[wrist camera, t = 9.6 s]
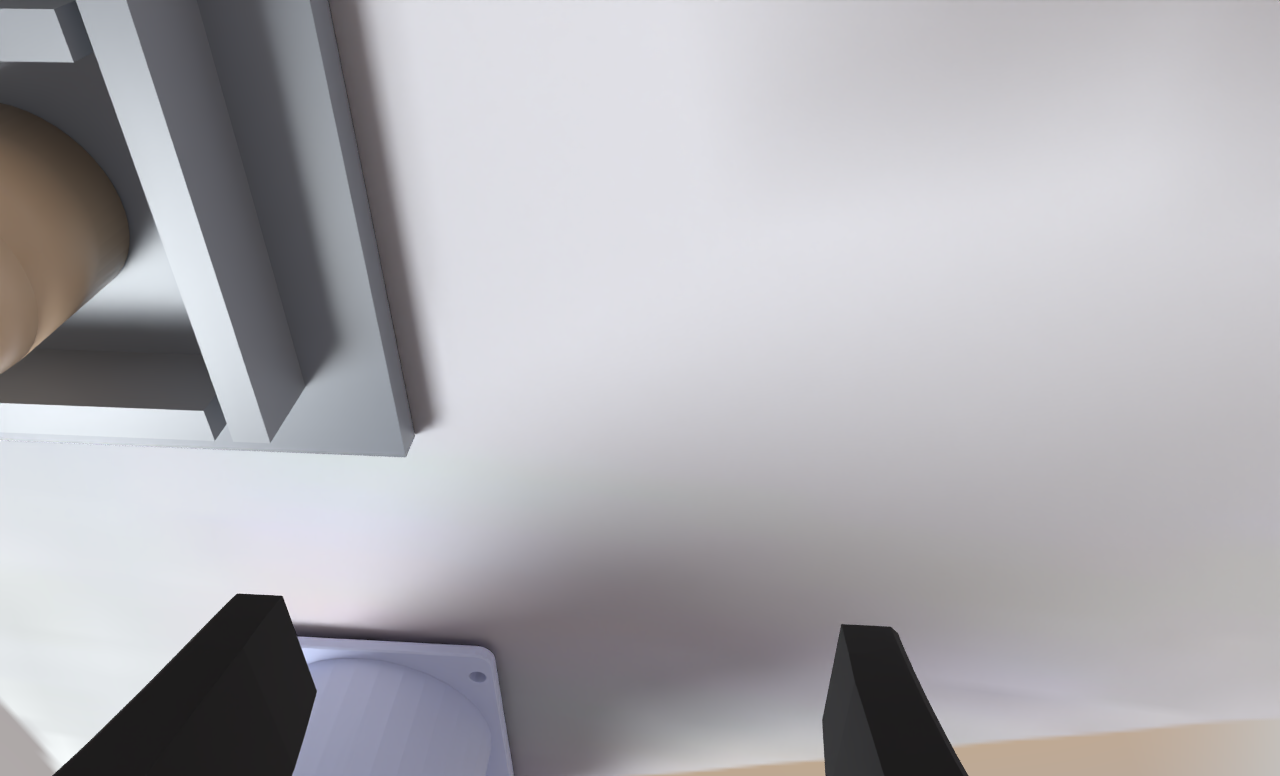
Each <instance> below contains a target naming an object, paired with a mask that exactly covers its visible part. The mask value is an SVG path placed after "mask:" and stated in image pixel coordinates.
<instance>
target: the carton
mask: <svg viewBox="0 0 1280 776" xmlns="http://www.w3.org/2000/svg"><path fill="white" fill-rule="evenodd" d="M0 103H2V104H7V105H11V106H14V107H17V108H19V109H22V110H25V111H27V112H30V113H32V114H34V115H36V116H38V117H40V118H42V119H44V120H45V121H47V122H49V123H50V124H52V125H54V126H56V127H57V128H58V129H60V130H61V131H63V132H64V133H65V134H67V135H68V136H70V137H71V138H72V139H73V140H74V141H75V142H77V143H78V144H79V145H80V146H81V147H82V148H83V149H84V150H85V151H86V152H87V153H88V154H89V155H90V156H91V157H92V158H93V159H94V160H95V161H96V162H97V164H98V165H99V166H100V167H101V169H102V170H103V171H104V172H105V174H106V175H107V177H108V178H109V180H110V181H111V183H112V184H113V186H114V188H115V190H116V192H117V194H118V195H119V197H120V200H121V202H122V205H123V207H124V210H125V213H126V217H127V221H128V226H129V234H130V241H129V251H128V256H127V259H126V261H125V264H124V266H123V268H122V269H121V271H120V272H119V274H118V275H117V276H116V277H115V278H114V279H113V280H112V281H111V282H110V283H109V284H108V285H107V286H105V287H104V288H103V289H102V290H101V291H100V292H99V293H97V294H96V295H95V296H94V297H93V298H92V299H91V300H89V301H88V302H87V303H86V304H85V305H84V306H82V307H81V308H80V309H79V310H78V311H77V312H76V313H74V314H73V315H72V316H71V317H70V318H69V319H67V320H66V321H65V322H64V323H63V324H62V325H61V326H59V327H58V328H57V329H56V330H55V331H54V332H53V333H51V334H50V335H49V336H48V337H47V338H46V339H44V340H43V341H42V342H41V343H40V344H39V345H38V346H36V347H35V348H34V349H33V350H32V351H31V352H30V353H28V354H27V355H26V356H25V357H24V358H23V359H21V360H20V361H19V362H17V363H16V364H15V365H13V366H12V367H11V368H9V369H8V370H6V371H5V372H3V373H2V374H0V440H1V441H25V442H49V443H74V444H98V445H122V446H146V447H170V448H195V449H219V450H243V451H267V452H292V453H316V454H340V455H364V456H388V457H406V456H407V453H408V451H409V449H410V446H411V444H412V442H413V439H414V437H415V434H414V429H413V424H412V419H411V414H410V409H409V404H408V399H407V394H406V389H405V384H404V379H403V374H402V369H401V364H400V359H399V354H398V349H397V344H396V339H395V334H394V329H393V324H392V319H391V314H390V309H389V304H388V299H387V294H386V289H385V284H384V278H383V273H382V268H381V263H380V258H379V253H378V248H377V243H376V238H375V233H374V228H373V223H372V218H371V213H370V208H369V203H368V198H367V193H366V188H365V183H364V178H363V173H362V168H361V163H360V158H359V153H358V148H357V143H356V138H355V133H354V128H353V123H352V118H351V113H350V108H349V103H348V98H347V93H346V88H345V83H344V78H343V73H342V68H341V63H340V58H339V53H338V48H337V43H336V38H335V33H334V28H333V23H332V18H331V13H330V8H329V3H328V0H0Z"/></svg>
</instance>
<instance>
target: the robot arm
mask: <svg viewBox="0 0 1280 776" xmlns="http://www.w3.org/2000/svg"><path fill="white" fill-rule="evenodd" d="M822 723H823V740H824V758H825V773H826V776H968V774H967V773H966V771H965V769H964V767H963V765H962V764H961V762H960V760H959V758H958V757H957V755H956V753H955V751H954V749H953V747H952V745H951V744H950V742H949V740H948V738H947V736H946V734H945V732H944V730H943V728H942V727H941V725H940V723H939V721H938V719H937V717H936V715H935V713H934V711H933V709H932V707H931V705H930V703H929V701H928V699H927V697H926V695H925V693H924V691H923V689H922V687H921V685H920V682H919V680H918V678H917V676H916V674H915V672H914V670H913V667H912V665H911V663H910V661H909V659H908V656H907V654H906V652H905V649H904V647H903V645H902V642H901V640H900V638H899V635H898V633H897V632H896V631H895V630H894V629H892V628H891V627H884V626H864V625H845V624H841V629H840V634H839V639H838V644H837V649H836V654H835V659H834V664H833V669H832V674H831V679H830V684H829V689H828V694H827V699H826V704H825V709H824V714H823V719H822ZM52 776H514V773H513V766H512V760H511V754H510V748H509V742H508V735H507V729H506V723H505V717H504V711H503V704H502V698H501V692H500V686H499V680H498V674H497V667H496V661H495V657H494V655H493V653H492V652H491V651H489V650H488V649H486V648H484V647H480V646H468V645H449V644H431V643H412V642H393V641H375V640H356V639H337V638H318V637H300V636H297V635H296V632H295V629H294V626H293V624H292V621H291V618H290V615H289V613H288V610H287V607H286V604H285V602H284V599H283V596H274V595H254V594H236V595H235V596H234V597H233V598H232V599H231V600H230V601H229V602H228V603H227V604H226V605H225V606H224V607H223V608H222V609H221V610H220V611H219V612H218V613H217V614H216V615H215V616H214V617H213V618H212V619H211V620H210V621H209V622H208V623H207V624H206V625H205V626H204V627H203V628H202V629H201V630H200V631H199V632H198V633H197V634H196V635H195V636H194V637H193V638H192V639H191V640H190V641H189V642H188V643H187V644H186V646H185V647H184V648H183V649H182V650H181V651H180V652H179V653H178V654H177V655H176V656H175V657H174V658H173V659H172V660H171V661H170V662H169V663H168V664H167V665H166V666H165V667H164V668H163V669H162V670H161V671H160V672H159V673H158V674H157V675H156V676H155V677H154V678H153V679H152V680H151V681H150V682H149V683H148V684H147V685H146V686H145V687H144V688H143V689H142V690H141V691H140V692H139V693H138V694H137V695H136V696H135V697H134V698H133V699H132V700H131V701H130V702H129V703H128V704H127V705H126V706H125V707H124V708H123V709H122V710H121V711H120V712H119V713H118V714H117V715H116V716H115V717H114V718H113V719H112V720H111V721H110V722H109V723H108V724H107V725H106V726H105V727H104V728H102V729H101V730H100V731H99V732H98V733H97V734H96V735H95V736H94V737H93V738H92V739H91V740H90V741H89V742H88V743H87V744H86V745H85V746H84V747H83V748H82V749H81V750H80V751H79V752H78V753H77V754H75V755H74V756H73V757H72V758H71V759H70V760H69V761H68V762H67V763H66V764H64V765H63V766H62V767H61V768H60V769H59V770H58V771H57V772H56V773H55V774H54V775H52Z"/></svg>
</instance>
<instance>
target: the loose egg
mask: <svg viewBox="0 0 1280 776" xmlns="http://www.w3.org/2000/svg"><path fill="white" fill-rule="evenodd" d="M129 241H130V234H129V226H128V221H127V217H126V213H125V210H124V207H123V205H122V202H121V200H120V197H119V195H118V194H117V192H116V190H115V188H114V186H113V184H112V183H111V181H110V180H109V178H108V177H107V175H106V174H105V172H104V171H103V170H102V169H101V167H100V166H99V165H98V164H97V162H96V161H95V160H94V159H93V158H92V157H91V156H90V155H89V154H88V153H87V152H86V151H85V150H84V149H83V148H82V147H81V146H80V145H79V144H78V143H77V142H75V141H74V140H73V139H72V138H71V137H70V136H68V135H67V134H65V133H64V132H63V131H61V130H60V129H58V128H57V127H56V126H54V125H52V124H50V123H49V122H47V121H45V120H44V119H42V118H40V117H38V116H36V115H34V114H32V113H30V112H27V111H25V110H22V109H19V108H17V107H14V106H11V105H7V104H2V103H0V374H2V373H3V372H5V371H6V370H8V369H9V368H11V367H12V366H13V365H15V364H16V363H17V362H19V361H20V360H21V359H23V358H24V357H25V356H26V355H27V354H28V353H30V352H31V351H32V350H33V349H34V348H35V347H36V346H38V345H39V344H40V343H41V342H42V341H43V340H44V339H46V338H47V337H48V336H49V335H50V334H51V333H53V332H54V331H55V330H56V329H57V328H58V327H59V326H61V325H62V324H63V323H64V322H65V321H66V320H67V319H69V318H70V317H71V316H72V315H73V314H74V313H76V312H77V311H78V310H79V309H80V308H81V307H82V306H84V305H85V304H86V303H87V302H88V301H89V300H91V299H92V298H93V297H94V296H95V295H96V294H97V293H99V292H100V291H101V290H102V289H103V288H104V287H105V286H107V285H108V284H109V283H110V282H111V281H112V280H113V279H114V278H115V277H116V276H117V275H118V274H119V272H120V271H121V269H122V268H123V266H124V264H125V261H126V259H127V256H128V251H129Z"/></svg>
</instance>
